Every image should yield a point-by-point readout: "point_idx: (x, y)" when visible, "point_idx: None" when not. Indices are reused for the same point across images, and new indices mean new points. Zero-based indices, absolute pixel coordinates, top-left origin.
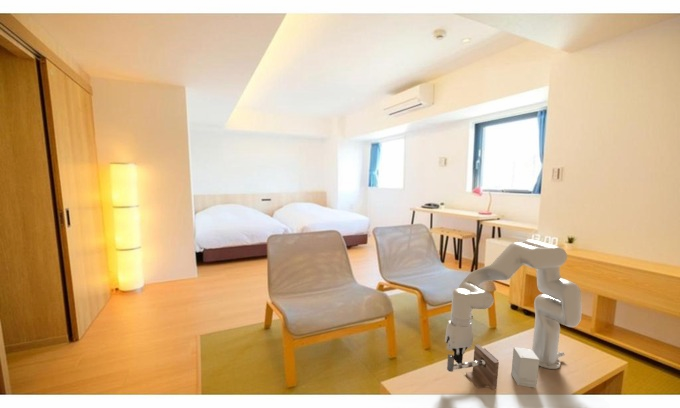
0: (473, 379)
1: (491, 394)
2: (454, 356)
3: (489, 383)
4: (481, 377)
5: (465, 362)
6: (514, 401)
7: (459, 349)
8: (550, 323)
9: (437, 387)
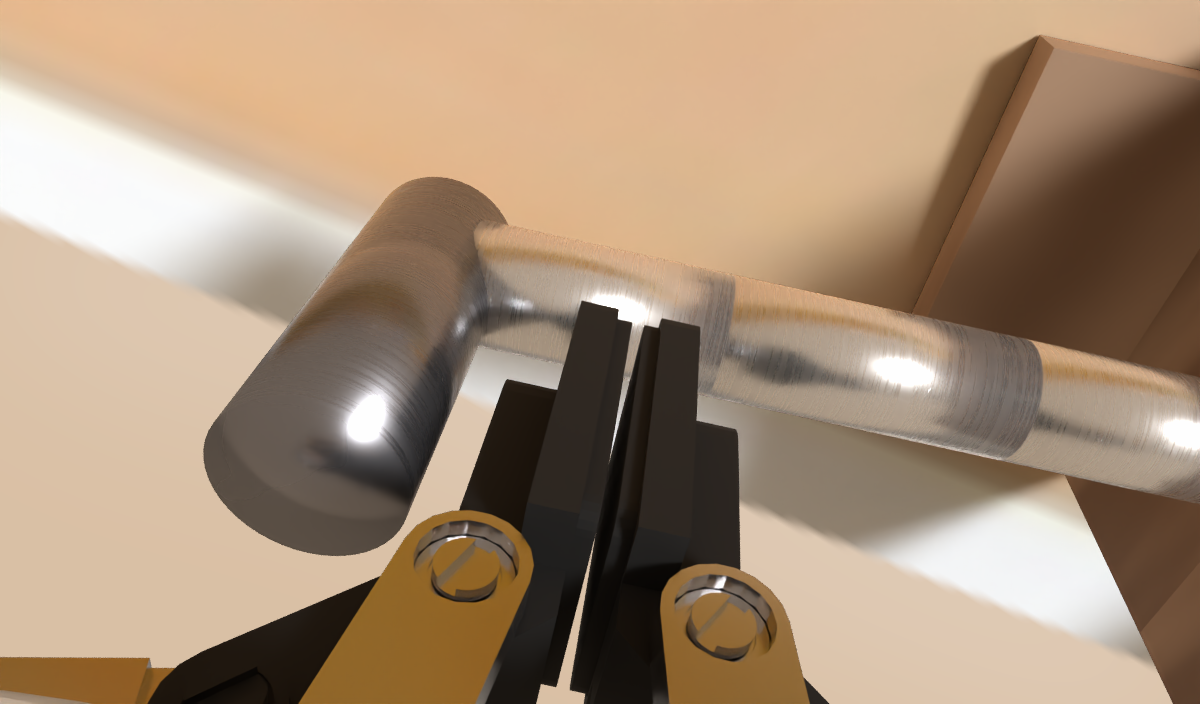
0: (989, 239)
1: (953, 473)
2: (487, 450)
3: None
4: (1172, 266)
5: (875, 390)
6: (1082, 624)
7: (644, 696)
8: None
9: (298, 63)
